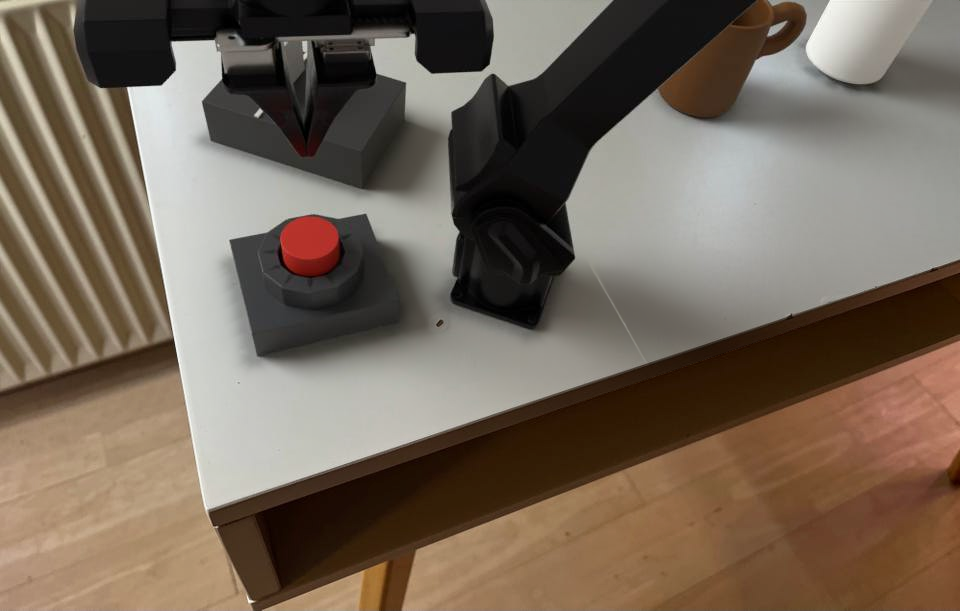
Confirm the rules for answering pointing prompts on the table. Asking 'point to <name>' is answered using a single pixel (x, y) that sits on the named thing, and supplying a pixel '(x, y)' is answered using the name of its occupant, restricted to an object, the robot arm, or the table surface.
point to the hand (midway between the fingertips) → (306, 152)
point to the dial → (295, 58)
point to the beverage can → (862, 37)
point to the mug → (732, 59)
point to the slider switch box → (346, 144)
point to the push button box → (314, 288)
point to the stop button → (310, 246)
